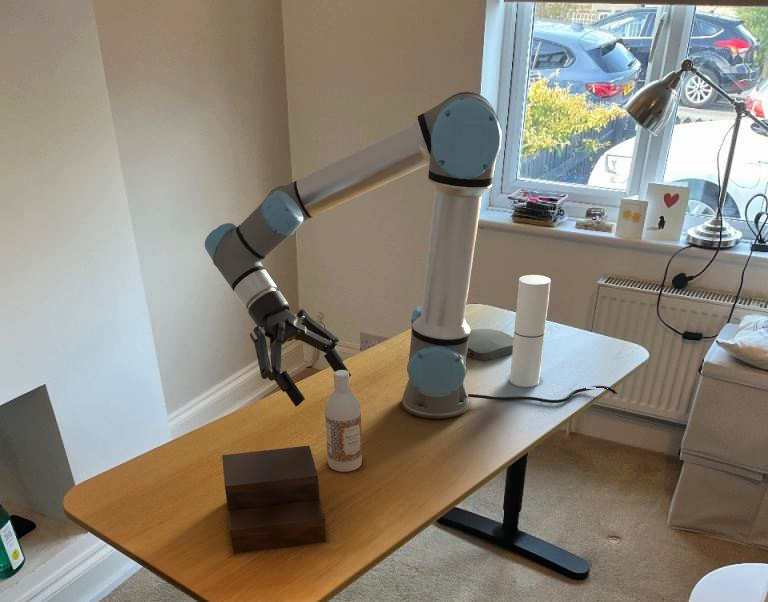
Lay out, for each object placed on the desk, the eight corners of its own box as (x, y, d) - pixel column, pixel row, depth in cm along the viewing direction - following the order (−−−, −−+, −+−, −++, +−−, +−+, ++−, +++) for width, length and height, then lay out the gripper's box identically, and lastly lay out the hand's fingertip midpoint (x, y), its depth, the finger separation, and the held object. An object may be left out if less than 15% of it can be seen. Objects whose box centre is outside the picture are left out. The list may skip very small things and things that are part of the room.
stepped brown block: (312, 490, 147) (309, 445, 142) (326, 541, 133) (323, 493, 128) (228, 501, 144) (222, 454, 139) (233, 554, 131) (226, 505, 125)
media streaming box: (523, 351, 204) (524, 340, 202) (480, 363, 197) (480, 352, 196) (488, 334, 214) (488, 324, 212) (446, 345, 207) (446, 335, 206)
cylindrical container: (504, 381, 188) (512, 279, 174) (520, 372, 192) (530, 272, 178) (528, 389, 184) (539, 286, 170) (544, 380, 188) (556, 279, 174)
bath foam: (339, 476, 151) (334, 383, 140) (321, 461, 156) (316, 370, 145) (368, 466, 155) (366, 374, 143) (350, 452, 159) (347, 362, 148)
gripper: (297, 294, 160) (354, 378, 160) (206, 328, 143) (270, 422, 144) (315, 273, 154) (374, 360, 155) (222, 306, 138) (288, 404, 138)
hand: (324, 390), depth 149 cm, fingers open, 13 cm apart
